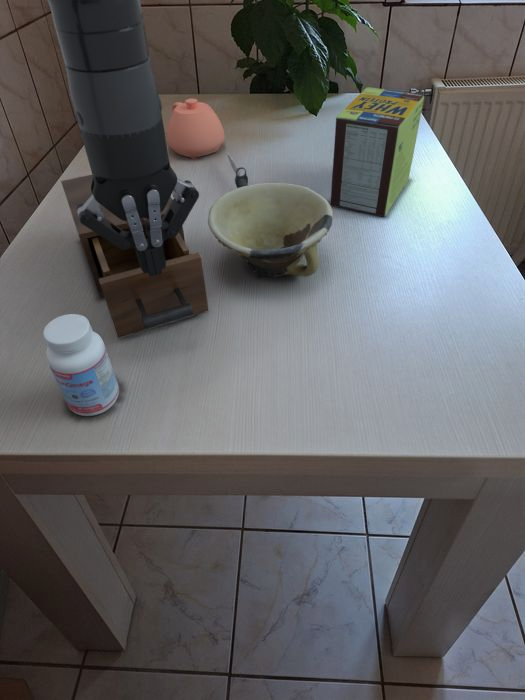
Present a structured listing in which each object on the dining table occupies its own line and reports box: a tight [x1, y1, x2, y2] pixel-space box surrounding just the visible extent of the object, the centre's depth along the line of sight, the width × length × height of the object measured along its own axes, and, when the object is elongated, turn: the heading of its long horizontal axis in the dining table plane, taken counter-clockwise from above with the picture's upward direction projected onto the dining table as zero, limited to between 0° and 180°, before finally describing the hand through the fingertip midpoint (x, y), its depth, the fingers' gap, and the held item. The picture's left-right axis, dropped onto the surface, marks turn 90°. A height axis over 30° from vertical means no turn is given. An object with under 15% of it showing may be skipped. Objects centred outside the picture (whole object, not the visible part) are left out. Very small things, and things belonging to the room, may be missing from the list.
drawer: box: [91, 220, 210, 339], centre depth 67 cm, size 21×13×9 cm, turn 24°
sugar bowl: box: [166, 98, 226, 160], centre depth 105 cm, size 12×14×10 cm
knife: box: [226, 151, 249, 189], centre depth 93 cm, size 19×2×5 cm, turn 16°
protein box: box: [329, 86, 425, 218], centre depth 87 cm, size 10×15×16 cm
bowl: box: [207, 182, 334, 278], centre depth 73 cm, size 18×18×10 cm
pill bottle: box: [42, 313, 120, 417], centre depth 55 cm, size 6×6×11 cm
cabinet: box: [60, 174, 186, 299], centre depth 76 cm, size 17×14×11 cm
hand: (153, 271), depth 57 cm, fingers closed
